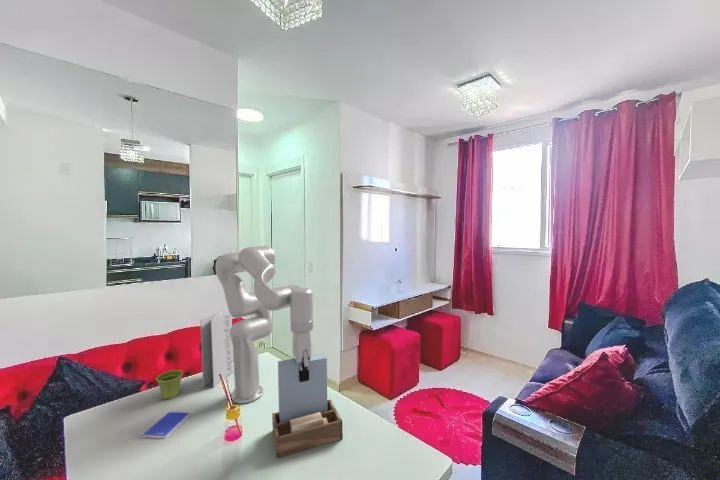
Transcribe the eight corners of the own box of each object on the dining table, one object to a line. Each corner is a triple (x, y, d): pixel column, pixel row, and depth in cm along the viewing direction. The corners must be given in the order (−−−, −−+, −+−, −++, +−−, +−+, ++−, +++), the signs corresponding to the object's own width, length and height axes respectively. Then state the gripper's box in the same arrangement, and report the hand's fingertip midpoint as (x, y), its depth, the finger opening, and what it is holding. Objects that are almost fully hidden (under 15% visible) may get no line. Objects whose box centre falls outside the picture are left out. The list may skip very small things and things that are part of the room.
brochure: (213, 387, 131) (211, 320, 130) (202, 386, 132) (200, 319, 131) (233, 372, 145) (231, 311, 144) (223, 371, 146) (221, 310, 145)
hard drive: (164, 435, 99) (189, 412, 112) (141, 434, 100) (168, 411, 112) (165, 439, 99) (189, 416, 112) (142, 438, 100) (168, 415, 112)
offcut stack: (285, 443, 96) (285, 420, 96) (327, 431, 102) (327, 409, 101) (288, 452, 92) (287, 429, 92) (331, 439, 97) (330, 417, 97)
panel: (279, 418, 102) (277, 361, 101) (324, 407, 108) (323, 353, 107) (280, 425, 98) (279, 366, 97) (327, 414, 104) (326, 357, 103)
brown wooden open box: (272, 430, 102) (272, 413, 102) (331, 415, 110) (330, 399, 110) (277, 458, 90) (276, 438, 89) (342, 438, 97) (342, 421, 97)
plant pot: (188, 393, 127) (187, 373, 126) (163, 404, 119) (162, 383, 118) (176, 387, 132) (176, 368, 131) (153, 397, 124) (152, 377, 124)
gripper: (287, 319, 108) (288, 368, 109) (294, 335, 92) (296, 392, 93) (307, 316, 111) (308, 365, 111) (318, 331, 95) (319, 387, 96)
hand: (302, 377), depth 102 cm, fingers closed on panel, 4 cm apart
